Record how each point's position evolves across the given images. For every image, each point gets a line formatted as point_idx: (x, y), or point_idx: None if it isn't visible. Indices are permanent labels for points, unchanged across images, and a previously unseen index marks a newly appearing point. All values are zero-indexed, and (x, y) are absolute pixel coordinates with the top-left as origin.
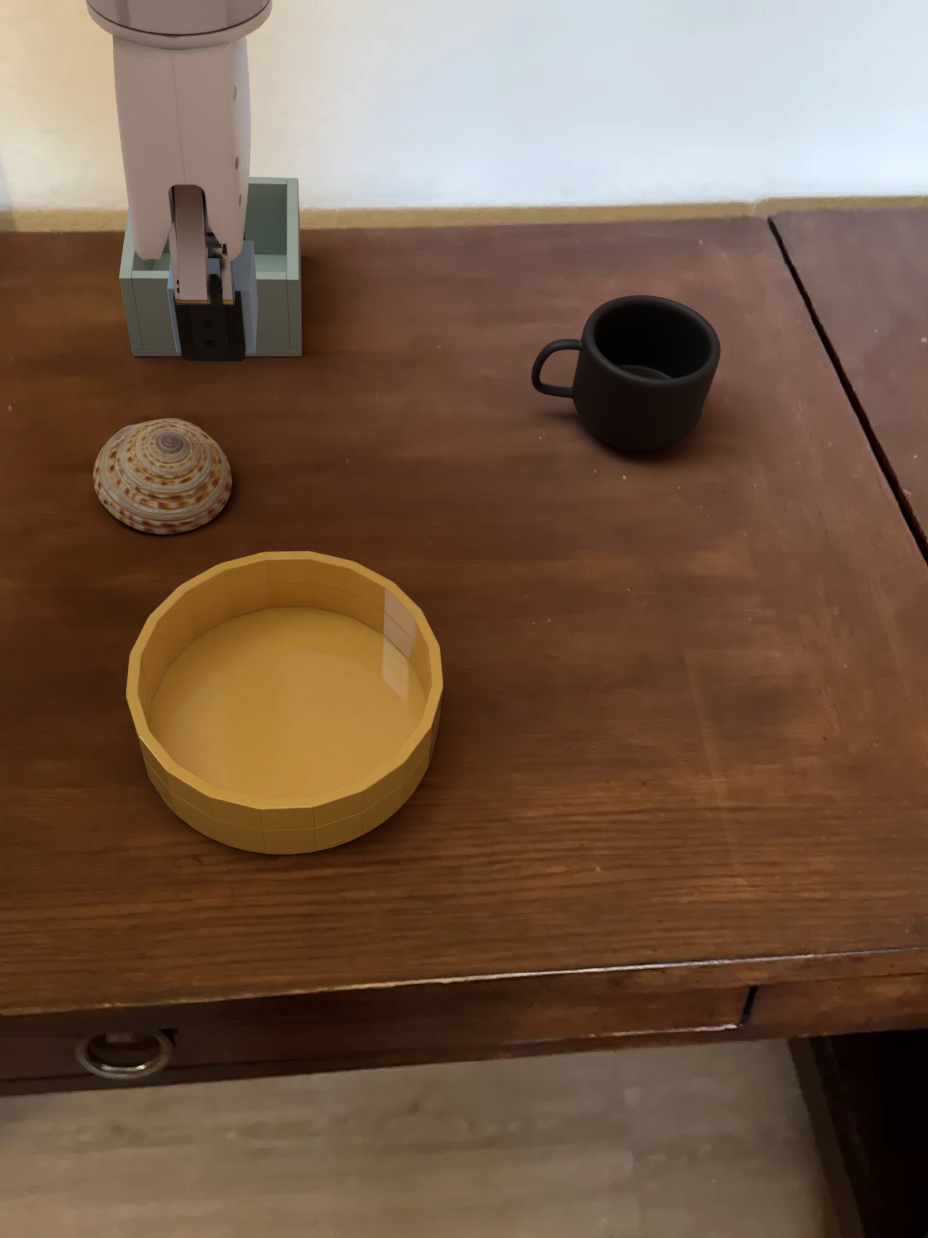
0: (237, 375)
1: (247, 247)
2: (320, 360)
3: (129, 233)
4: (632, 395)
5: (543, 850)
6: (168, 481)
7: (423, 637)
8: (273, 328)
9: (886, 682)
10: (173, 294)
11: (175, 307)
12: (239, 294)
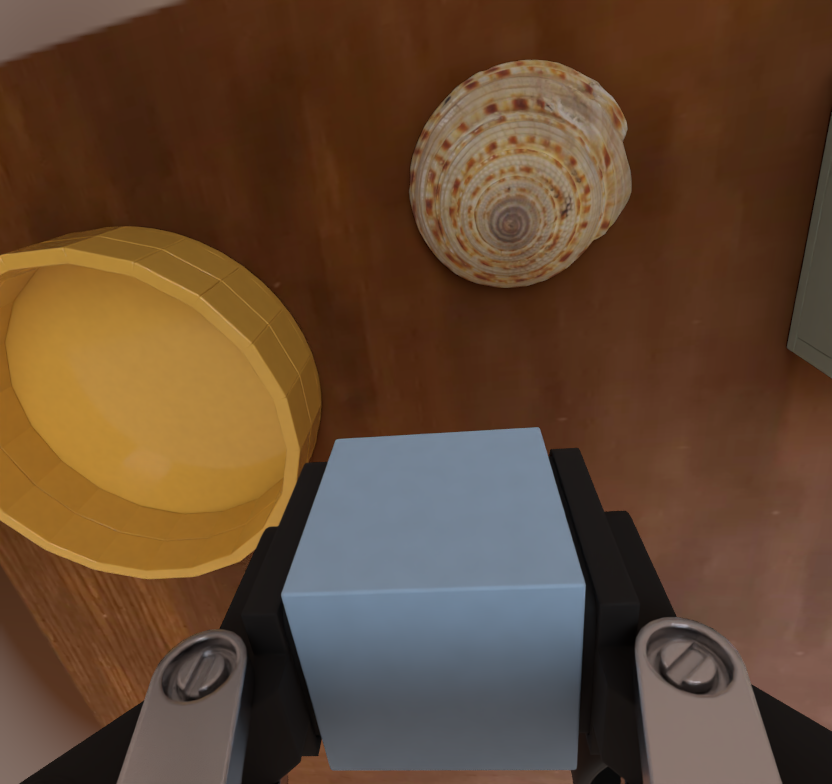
0: (757, 257)
1: (536, 761)
2: (773, 373)
3: None
4: (579, 752)
5: (106, 584)
6: (455, 218)
7: (203, 563)
8: (827, 329)
9: (324, 781)
10: (253, 614)
11: (255, 582)
12: (305, 752)
